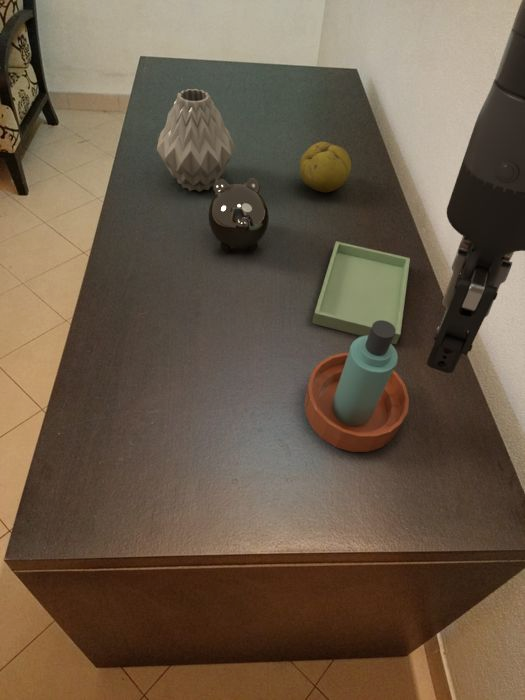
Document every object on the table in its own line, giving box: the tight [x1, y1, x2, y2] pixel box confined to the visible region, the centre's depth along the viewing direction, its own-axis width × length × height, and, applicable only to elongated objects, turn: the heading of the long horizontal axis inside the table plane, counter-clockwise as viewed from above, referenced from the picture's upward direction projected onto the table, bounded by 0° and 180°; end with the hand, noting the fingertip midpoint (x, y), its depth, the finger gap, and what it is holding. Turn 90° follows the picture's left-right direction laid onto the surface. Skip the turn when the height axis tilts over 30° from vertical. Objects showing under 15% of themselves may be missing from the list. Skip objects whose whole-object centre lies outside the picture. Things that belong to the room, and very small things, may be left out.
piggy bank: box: [208, 177, 270, 253], centre depth 88 cm, size 11×15×12 cm
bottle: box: [332, 320, 399, 426], centre depth 62 cm, size 6×6×18 cm
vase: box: [156, 88, 236, 192], centre depth 98 cm, size 16×16×18 cm
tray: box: [311, 240, 411, 345], centre depth 84 cm, size 14×20×3 cm
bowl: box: [303, 352, 410, 453], centre depth 67 cm, size 14×14×5 cm
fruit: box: [299, 141, 352, 193], centre depth 103 cm, size 11×12×10 cm
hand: (449, 336), depth 43 cm, fingers open, 8 cm apart
